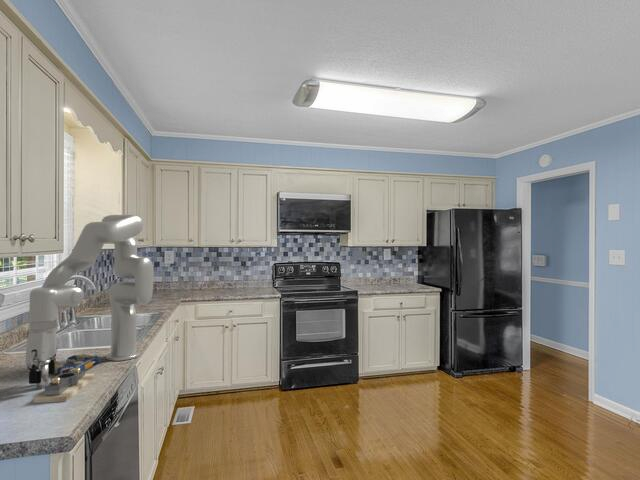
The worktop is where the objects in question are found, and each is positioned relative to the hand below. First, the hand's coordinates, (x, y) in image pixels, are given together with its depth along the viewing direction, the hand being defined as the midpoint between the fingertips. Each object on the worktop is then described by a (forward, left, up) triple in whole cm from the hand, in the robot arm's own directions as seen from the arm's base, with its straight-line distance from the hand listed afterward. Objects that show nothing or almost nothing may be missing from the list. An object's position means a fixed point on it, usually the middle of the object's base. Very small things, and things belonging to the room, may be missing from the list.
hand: (42, 378), depth 123 cm
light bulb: (0, 0, -3) cm, 3 cm away
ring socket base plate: (+3, +9, -3) cm, 10 cm away
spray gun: (-19, +1, -4) cm, 19 cm away
